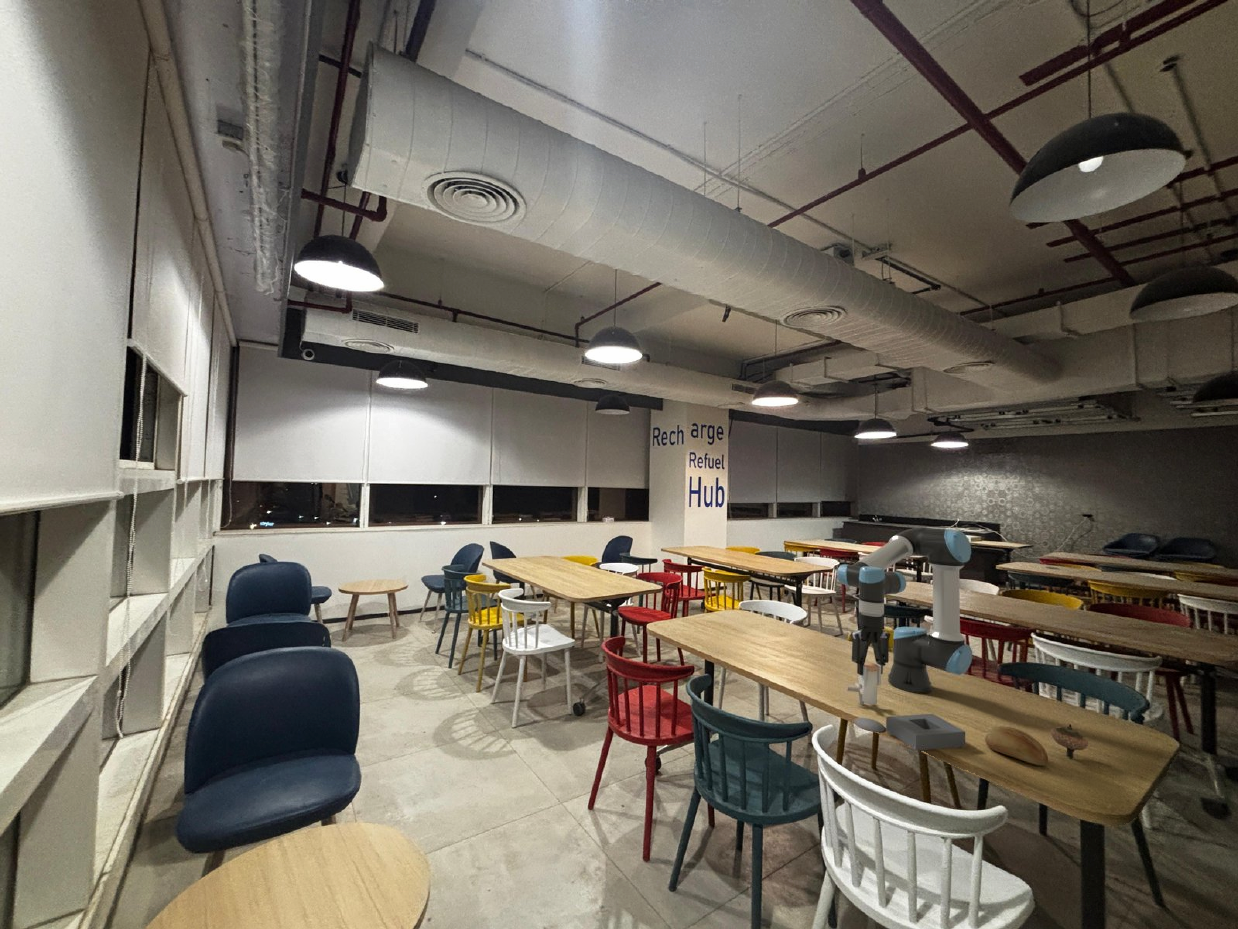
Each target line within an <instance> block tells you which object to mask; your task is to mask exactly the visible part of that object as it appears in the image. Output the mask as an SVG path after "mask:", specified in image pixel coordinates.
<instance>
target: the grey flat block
mask: <svg viewBox="0 0 1238 929" xmlns="http://www.w3.org/2000/svg"><path fill="white" fill-rule="evenodd" d="M885 720H886V721H885V722H886V723H885V732H887V733H889V734H890V735H892V736H893V737H894V738H897V739H898V740H899V741H901V743H902V742H903V743H904V744H905V743H906V744H905V745H907V744H908V745H910V746H909V747H910V748H911V749H913V750H914V751H918V752H919V751H926V750H927V751H928V750H929V751H930V750H937V749H951V748H962V747H963V746H964V747H966V731H965V730H964V729H962V728H959V727H958V726H956V725H954V724H953V723H951V722H948V721H947V720H945V719H943V718H941V717H940V716H937V715H936V714H934V713H922V714H910V715H909V714H908V715H907V714H906V715H892V716H890V715H889V716H885ZM908 745H907V746H908ZM914 747H915V748H914ZM950 747H951V748H950Z"/></svg>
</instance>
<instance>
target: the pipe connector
mask: <svg viewBox="0 0 1238 929" xmlns="http://www.w3.org/2000/svg"><path fill="white" fill-rule="evenodd" d="M854 685H855V686H853V685H846V688H845V690H846V692H854V693H858V703H857V704H858V705H860V706H864V705H865V703H864V702H863V701H862V685H861V684H859V681H857V682H856V683H855V684H854Z"/></svg>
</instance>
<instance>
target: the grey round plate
mask: <svg viewBox="0 0 1238 929" xmlns="http://www.w3.org/2000/svg"><path fill="white" fill-rule="evenodd" d="M853 722H854V724H855V725H856V726H857V728H860V729H862V730H864V731H867V732H870V733H882V732H884V731H886V726H884V724H883V723H881V722H880V721H877V720H875V719H872V718H868V717H857V718H854V721H853ZM866 727H869V728H866Z"/></svg>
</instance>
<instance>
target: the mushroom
mask: <svg viewBox="0 0 1238 929" xmlns="http://www.w3.org/2000/svg"><path fill="white" fill-rule="evenodd" d="M875 663H876V662H870V661H865V664H864V665H865V666H867V672H866V686H863V685H862V701H863V702H864V704H867V705H872V706H873V705H874V706H875V705H878V685H877V673H878V670H879V666H878V665H877V664H875Z"/></svg>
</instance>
